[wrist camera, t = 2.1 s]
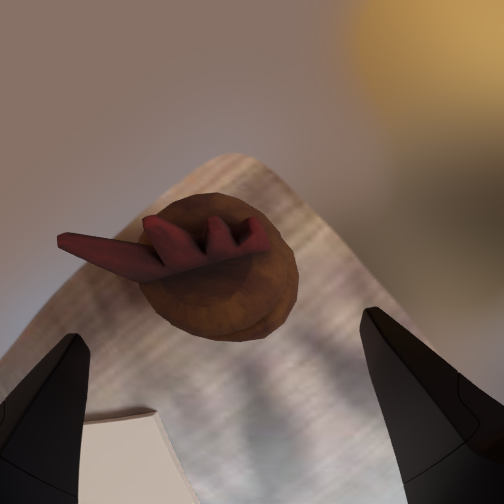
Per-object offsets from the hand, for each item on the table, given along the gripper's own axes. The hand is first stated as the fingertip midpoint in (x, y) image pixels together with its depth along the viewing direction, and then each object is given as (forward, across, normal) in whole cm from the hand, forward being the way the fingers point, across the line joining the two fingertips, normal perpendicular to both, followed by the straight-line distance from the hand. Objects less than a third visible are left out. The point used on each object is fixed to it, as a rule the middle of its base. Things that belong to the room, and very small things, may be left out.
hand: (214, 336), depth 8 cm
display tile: (-2, +10, +16) cm, 19 cm away
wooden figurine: (+9, 0, +6) cm, 11 cm away
